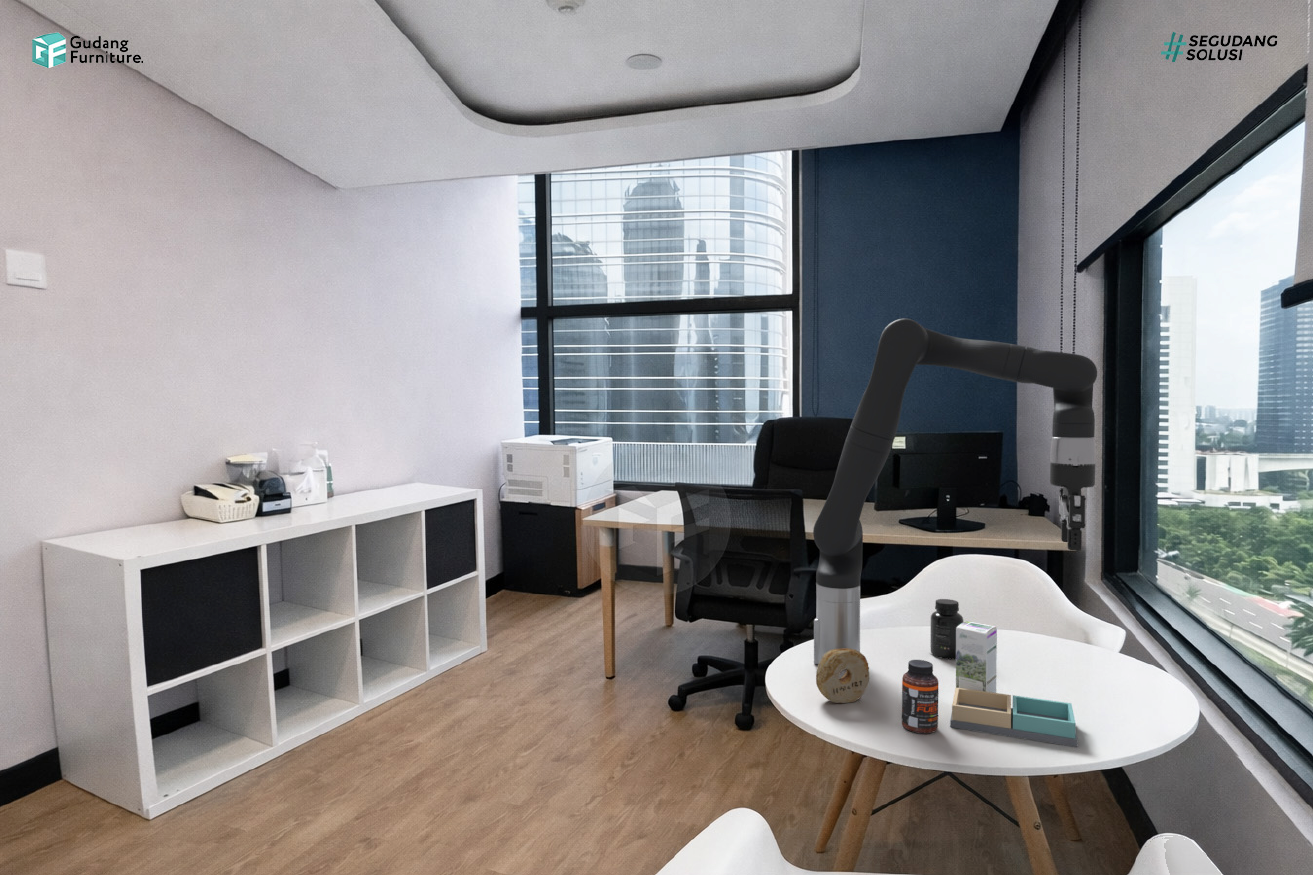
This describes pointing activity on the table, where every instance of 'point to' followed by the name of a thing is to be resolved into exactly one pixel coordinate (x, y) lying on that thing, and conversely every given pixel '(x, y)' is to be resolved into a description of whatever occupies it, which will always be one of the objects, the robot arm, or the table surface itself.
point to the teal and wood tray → (1014, 716)
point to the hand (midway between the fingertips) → (1070, 545)
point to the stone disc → (850, 683)
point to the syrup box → (976, 656)
